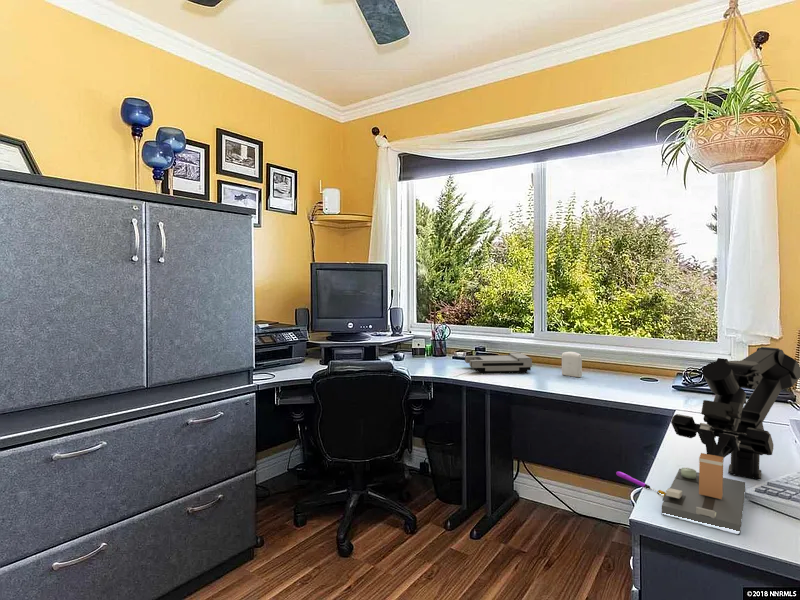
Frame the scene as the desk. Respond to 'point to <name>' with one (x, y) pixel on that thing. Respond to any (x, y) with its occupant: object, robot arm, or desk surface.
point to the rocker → (673, 493)
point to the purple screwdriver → (635, 481)
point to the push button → (688, 473)
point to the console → (707, 502)
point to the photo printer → (572, 364)
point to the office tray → (500, 363)
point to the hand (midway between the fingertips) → (710, 465)
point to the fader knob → (711, 475)
